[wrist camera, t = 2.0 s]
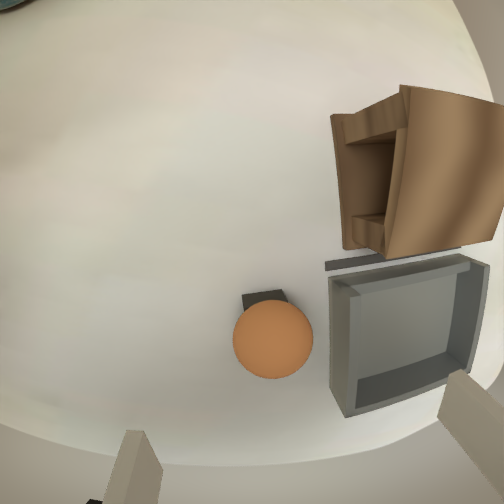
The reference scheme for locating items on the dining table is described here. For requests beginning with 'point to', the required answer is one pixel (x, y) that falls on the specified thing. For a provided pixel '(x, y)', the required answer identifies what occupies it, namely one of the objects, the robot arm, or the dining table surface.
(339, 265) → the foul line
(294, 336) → the ball
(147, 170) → the dining table surface
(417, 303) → the bin
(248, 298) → the dark open box
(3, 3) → the vase
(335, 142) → the wooden cubby
